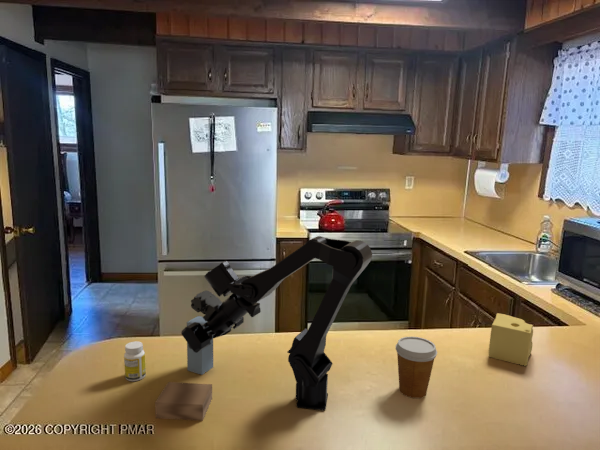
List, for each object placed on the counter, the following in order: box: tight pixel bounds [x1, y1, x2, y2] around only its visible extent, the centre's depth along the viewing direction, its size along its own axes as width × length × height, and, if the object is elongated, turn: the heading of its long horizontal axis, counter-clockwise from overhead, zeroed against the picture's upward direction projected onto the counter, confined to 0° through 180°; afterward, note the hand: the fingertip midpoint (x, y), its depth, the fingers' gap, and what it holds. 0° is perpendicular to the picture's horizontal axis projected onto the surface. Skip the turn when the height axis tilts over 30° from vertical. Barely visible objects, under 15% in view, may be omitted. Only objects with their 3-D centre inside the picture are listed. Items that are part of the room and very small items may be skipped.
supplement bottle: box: [123, 340, 147, 382], centre depth 109 cm, size 5×5×8 cm
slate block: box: [186, 315, 214, 376], centre depth 113 cm, size 5×5×13 cm
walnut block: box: [154, 381, 213, 422], centre depth 97 cm, size 10×8×4 cm
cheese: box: [488, 312, 534, 367], centre depth 126 cm, size 10×11×10 cm
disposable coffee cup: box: [395, 336, 438, 399], centre depth 106 cm, size 10×10×12 cm
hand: (195, 343), depth 114 cm, fingers closed on slate block, 5 cm apart
